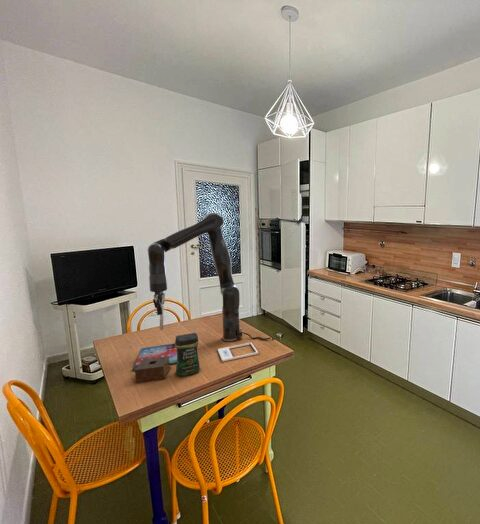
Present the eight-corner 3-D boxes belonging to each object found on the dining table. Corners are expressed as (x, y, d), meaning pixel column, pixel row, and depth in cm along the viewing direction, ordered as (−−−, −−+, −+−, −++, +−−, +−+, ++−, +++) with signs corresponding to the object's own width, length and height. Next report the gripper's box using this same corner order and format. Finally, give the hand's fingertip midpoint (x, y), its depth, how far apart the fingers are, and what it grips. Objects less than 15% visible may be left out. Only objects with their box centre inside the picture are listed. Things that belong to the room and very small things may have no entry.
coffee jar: (177, 379, 131) (175, 339, 128) (175, 371, 137) (173, 333, 135) (201, 372, 137) (199, 335, 134) (198, 365, 143) (196, 329, 141)
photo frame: (217, 348, 159) (251, 342, 169) (217, 350, 160) (251, 343, 169) (222, 359, 147) (258, 352, 157) (222, 361, 147) (258, 354, 157)
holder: (169, 367, 141) (168, 355, 140) (164, 378, 131) (163, 366, 130) (143, 370, 137) (142, 358, 136) (135, 382, 127) (134, 369, 126)
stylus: (163, 329, 156) (164, 304, 154) (162, 330, 154) (163, 305, 153) (159, 329, 155) (160, 304, 154) (159, 330, 154) (159, 305, 152)
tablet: (133, 371, 136) (132, 369, 136) (141, 349, 158) (141, 348, 158) (180, 362, 145) (180, 361, 145) (182, 343, 167) (182, 342, 167)
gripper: (163, 284, 146) (165, 317, 148) (169, 278, 159) (171, 309, 161) (145, 284, 143) (148, 318, 146) (153, 279, 156) (155, 310, 159)
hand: (160, 313), depth 153 cm, fingers closed on stylus, 1 cm apart
